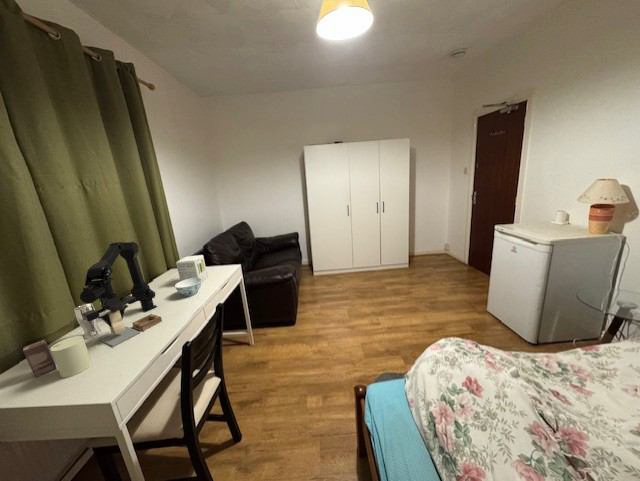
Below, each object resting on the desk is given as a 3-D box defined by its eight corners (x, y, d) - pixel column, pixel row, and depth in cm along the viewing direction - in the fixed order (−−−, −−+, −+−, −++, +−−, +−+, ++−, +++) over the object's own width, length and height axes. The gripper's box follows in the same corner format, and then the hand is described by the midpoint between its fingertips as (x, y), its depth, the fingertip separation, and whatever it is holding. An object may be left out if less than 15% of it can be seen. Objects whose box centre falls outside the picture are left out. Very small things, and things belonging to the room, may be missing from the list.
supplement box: (199, 284, 174) (194, 260, 170) (181, 286, 175) (175, 262, 171) (208, 277, 187) (203, 254, 183) (191, 278, 188) (185, 256, 184)
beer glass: (81, 341, 118) (70, 312, 115) (86, 333, 124) (76, 306, 121) (100, 335, 121) (90, 307, 118) (104, 328, 127) (95, 301, 124)
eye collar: (133, 327, 126) (132, 322, 125) (152, 318, 133) (151, 313, 133) (143, 331, 121) (141, 326, 121) (162, 321, 129) (160, 316, 128)
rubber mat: (99, 340, 118) (98, 338, 117) (125, 327, 127) (125, 326, 127) (113, 347, 111) (113, 345, 111) (140, 333, 120) (140, 331, 120)
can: (67, 365, 101) (57, 339, 98) (96, 357, 105) (87, 331, 102) (55, 381, 93) (43, 353, 90) (86, 371, 96) (76, 344, 94)
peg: (111, 332, 117) (104, 312, 115) (121, 327, 121) (115, 308, 118) (115, 334, 115) (108, 314, 113) (125, 329, 119) (119, 310, 116)
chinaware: (208, 288, 166) (206, 277, 164) (193, 299, 152) (191, 287, 150) (188, 288, 169) (185, 278, 167) (172, 299, 154) (169, 287, 153)
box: (56, 364, 103) (45, 338, 100) (57, 369, 100) (46, 342, 97) (34, 373, 98) (22, 346, 96) (34, 378, 96) (22, 351, 93)
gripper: (87, 305, 102) (99, 339, 106) (137, 286, 117) (146, 316, 121) (76, 301, 107) (88, 334, 111) (126, 284, 123) (134, 312, 127)
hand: (116, 324), depth 117 cm, fingers closed on peg, 4 cm apart
